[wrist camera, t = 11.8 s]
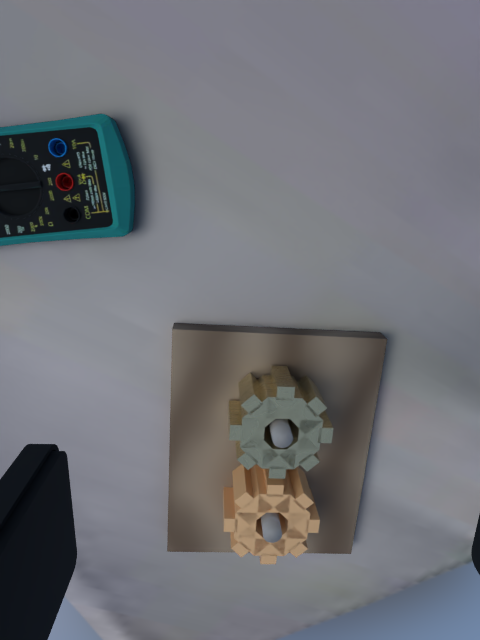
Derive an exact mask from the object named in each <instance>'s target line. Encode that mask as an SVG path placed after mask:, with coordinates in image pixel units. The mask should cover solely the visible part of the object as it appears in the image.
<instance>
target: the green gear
mask: <svg viewBox="0 0 480 640" xmlns="http://www.w3.org/2000/svg"><path fill="white" fill-rule="evenodd" d="M238 385H239V394H240V397H239V401H229V404H228V428H229V440H235V442H236V455H237V460H238V461H239V462H240V463H241V464H242V465H243V466H244V467H245V468H246V469H247V470H249V469H250V468H252V467H253V466H254V465H255V464H257V465H259V466H260V467H261V468H262V469H267V472H268V478H275V479H285V476H286V469H295V468H296V467H298V466H299V465H301V466H302V467H303V468H304V469H305V470H306V471H309V470H310V469H311V468H313V467H314V466H315V465H316V464H318V463H319V462H320V460H319V458H318V455H317V451H319V448H320V443H332V436H333V429H334V428H333V426H332V424H331V422H330V420H329V418H328V415H327V413H326V411H325V410H326V409H327V407H326V405H325V403H324V400H323V398H322V396H321V394H320V392H319V390H318V388H317V386H316V385H315V384H314V383H313V382H312V380H311V379H310V378H309V377H308V376H307V375H305V376H304V377H303V378H302V379H300V380H299V381H297V380H296V379H295V377H294V376H291V375H290V372H289V370H288V367H287V366H271V373H270V375H262V376H261V377H260V378H259V379H258V380H257V379H256V378H255V377H254V376H253V375H252V374H251V373H249V374H248V375H247V376H246V377H244V378H243V379H242V380H241V381H239V382H238ZM275 419H288V423H289V426H290V429H291V433H292V436H293V441H292V443H291V444H290V445H289V446H288V447H285V448H279V447H277V446H275V445H274V443H273V441H272V436H271V431H270V427H269V424H270V423H271V422H272V421H273V420H275Z"/></svg>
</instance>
